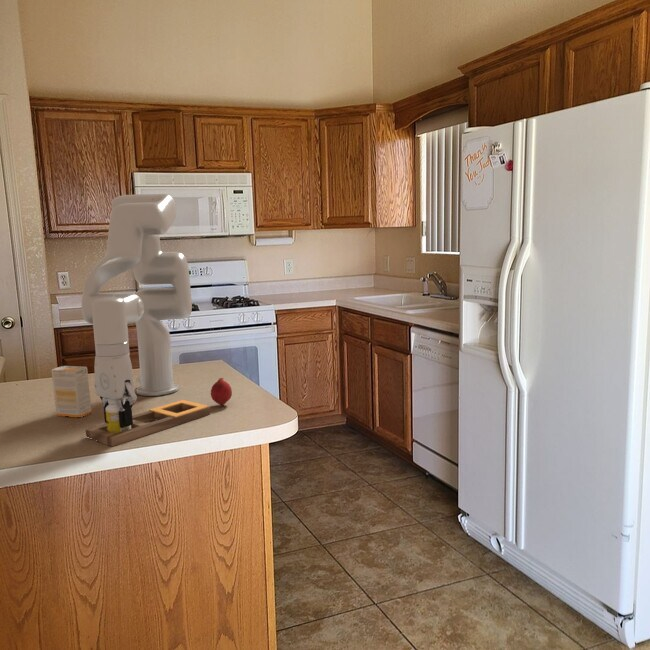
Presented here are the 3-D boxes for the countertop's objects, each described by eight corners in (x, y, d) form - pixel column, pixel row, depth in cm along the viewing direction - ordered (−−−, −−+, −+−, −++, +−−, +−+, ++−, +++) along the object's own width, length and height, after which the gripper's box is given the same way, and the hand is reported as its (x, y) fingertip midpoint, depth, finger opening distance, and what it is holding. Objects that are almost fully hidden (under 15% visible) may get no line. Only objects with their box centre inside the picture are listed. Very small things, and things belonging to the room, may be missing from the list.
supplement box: (92, 413, 163) (88, 366, 161) (80, 418, 159) (75, 370, 157) (68, 411, 166) (63, 364, 164) (55, 416, 162) (50, 368, 160)
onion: (228, 408, 164) (226, 380, 162) (208, 408, 165) (206, 379, 164) (235, 402, 169) (234, 375, 168) (216, 402, 170) (214, 374, 169)
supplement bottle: (111, 432, 147) (107, 393, 145) (133, 431, 147) (130, 392, 146) (105, 439, 141) (101, 399, 140) (128, 438, 142) (125, 398, 140)
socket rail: (86, 437, 143) (85, 428, 143) (183, 407, 166) (182, 399, 166) (112, 446, 137) (111, 436, 136) (209, 414, 159) (209, 405, 159)
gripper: (78, 349, 143) (84, 422, 146) (119, 356, 133) (126, 434, 136) (106, 344, 149) (112, 414, 152) (148, 350, 139) (153, 426, 141)
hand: (118, 423), depth 144 cm, fingers closed on supplement bottle, 5 cm apart
